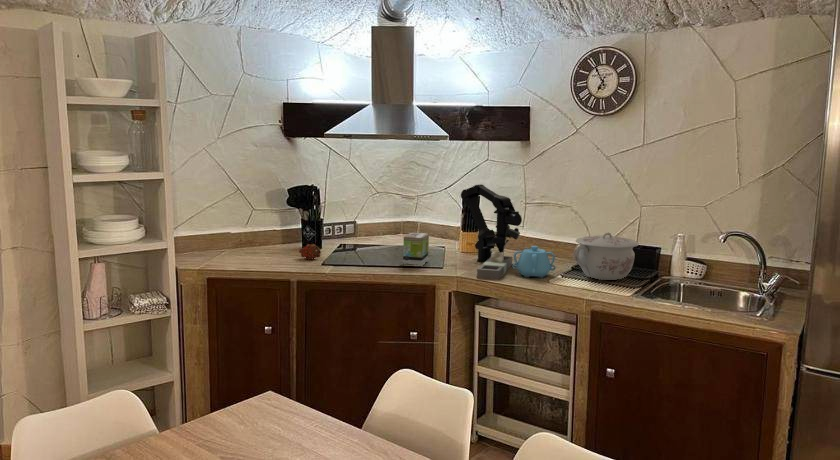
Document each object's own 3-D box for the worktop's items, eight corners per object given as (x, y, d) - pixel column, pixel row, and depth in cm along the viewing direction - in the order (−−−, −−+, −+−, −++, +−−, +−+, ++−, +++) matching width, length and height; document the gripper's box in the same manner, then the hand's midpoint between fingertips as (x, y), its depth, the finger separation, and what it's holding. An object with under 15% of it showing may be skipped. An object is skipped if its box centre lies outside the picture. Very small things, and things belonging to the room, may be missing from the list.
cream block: (491, 261, 314) (491, 253, 314) (493, 259, 319) (493, 251, 318) (501, 262, 313) (501, 254, 312) (503, 260, 318) (503, 252, 317)
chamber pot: (634, 273, 311) (636, 229, 308) (639, 286, 285) (642, 239, 282) (572, 269, 317) (574, 226, 314) (572, 282, 291) (574, 236, 288)
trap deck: (476, 277, 298) (477, 269, 298) (492, 263, 330) (492, 255, 330) (499, 279, 295) (499, 270, 295) (512, 264, 327) (512, 256, 327)
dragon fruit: (321, 263, 333) (300, 265, 338) (326, 251, 339) (306, 253, 344) (314, 251, 328) (293, 253, 333) (319, 239, 334) (299, 241, 338)
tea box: (422, 268, 318) (423, 237, 316) (402, 266, 320) (402, 236, 318) (428, 261, 333) (429, 232, 331) (409, 260, 335) (409, 231, 333)
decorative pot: (559, 277, 302) (560, 247, 299) (530, 280, 294) (531, 250, 292) (536, 270, 316) (537, 242, 314) (508, 273, 308) (509, 244, 306)
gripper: (515, 227, 312) (514, 259, 315) (522, 221, 330) (521, 252, 332) (492, 225, 316) (491, 258, 318) (499, 220, 333) (499, 251, 336)
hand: (501, 254), depth 326 cm, fingers closed
